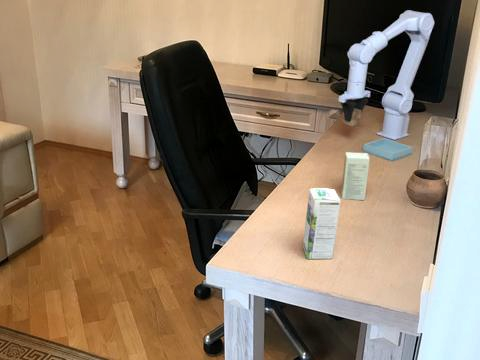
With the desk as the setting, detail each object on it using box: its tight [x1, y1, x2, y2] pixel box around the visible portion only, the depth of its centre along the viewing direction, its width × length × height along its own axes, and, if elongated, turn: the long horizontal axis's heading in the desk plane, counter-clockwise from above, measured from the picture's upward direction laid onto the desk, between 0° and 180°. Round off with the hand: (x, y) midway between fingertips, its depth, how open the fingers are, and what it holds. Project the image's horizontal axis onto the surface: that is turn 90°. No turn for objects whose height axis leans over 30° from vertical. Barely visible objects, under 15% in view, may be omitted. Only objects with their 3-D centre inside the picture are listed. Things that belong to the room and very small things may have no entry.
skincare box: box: [340, 151, 371, 201], centre depth 142 cm, size 6×4×12 cm
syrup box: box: [302, 187, 341, 260], centre depth 114 cm, size 6×6×14 cm
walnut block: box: [342, 108, 362, 127], centre depth 182 cm, size 4×4×5 cm
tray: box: [362, 137, 414, 162], centre depth 178 cm, size 12×12×2 cm
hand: (351, 119), depth 183 cm, fingers closed on walnut block, 4 cm apart
